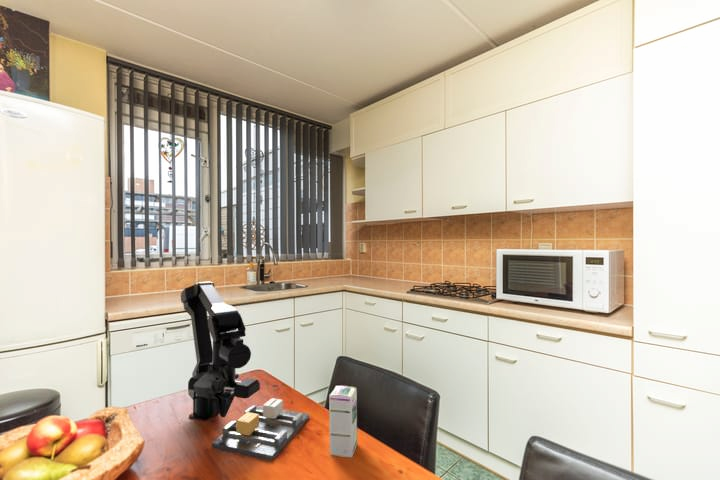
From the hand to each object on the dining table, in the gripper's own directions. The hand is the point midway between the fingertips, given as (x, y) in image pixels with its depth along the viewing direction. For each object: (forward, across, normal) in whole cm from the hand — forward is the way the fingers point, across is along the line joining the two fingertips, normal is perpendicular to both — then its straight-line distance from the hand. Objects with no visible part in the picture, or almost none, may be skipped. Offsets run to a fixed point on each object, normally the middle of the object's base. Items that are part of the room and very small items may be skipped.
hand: (223, 416), depth 87 cm
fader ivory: (+3, +9, +9) cm, 13 cm away
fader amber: (+4, +8, 0) cm, 8 cm away
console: (+5, +10, +4) cm, 12 cm away
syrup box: (+5, +33, +3) cm, 33 cm away
